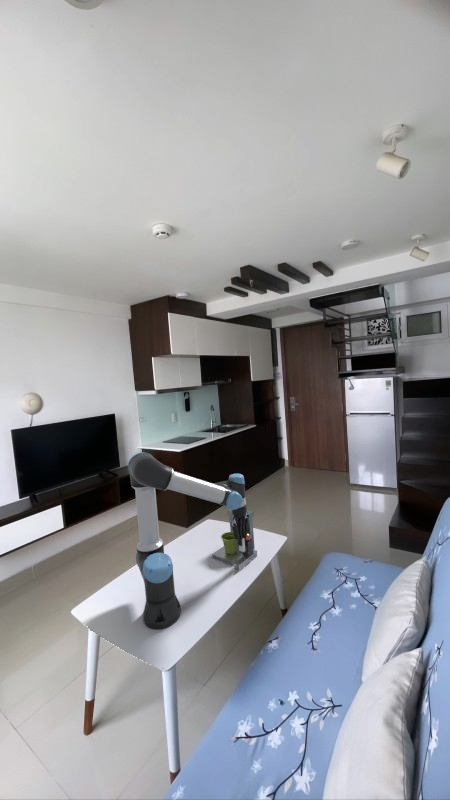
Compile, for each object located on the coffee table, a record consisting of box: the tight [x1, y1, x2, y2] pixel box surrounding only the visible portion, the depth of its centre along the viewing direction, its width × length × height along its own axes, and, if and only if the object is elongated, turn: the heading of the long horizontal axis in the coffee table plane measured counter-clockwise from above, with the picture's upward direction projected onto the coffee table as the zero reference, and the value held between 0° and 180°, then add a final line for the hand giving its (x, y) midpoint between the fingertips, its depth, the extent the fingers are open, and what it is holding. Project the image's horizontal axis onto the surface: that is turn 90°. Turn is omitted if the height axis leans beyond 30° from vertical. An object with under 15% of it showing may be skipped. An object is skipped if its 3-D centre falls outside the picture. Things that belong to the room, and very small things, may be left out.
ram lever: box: [242, 533, 253, 557], centre depth 165 cm, size 4×4×11 cm
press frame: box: [211, 508, 258, 572], centre depth 171 cm, size 23×20×20 cm
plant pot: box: [220, 531, 237, 554], centre depth 172 cm, size 9×9×9 cm
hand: (242, 550), depth 162 cm, fingers closed
